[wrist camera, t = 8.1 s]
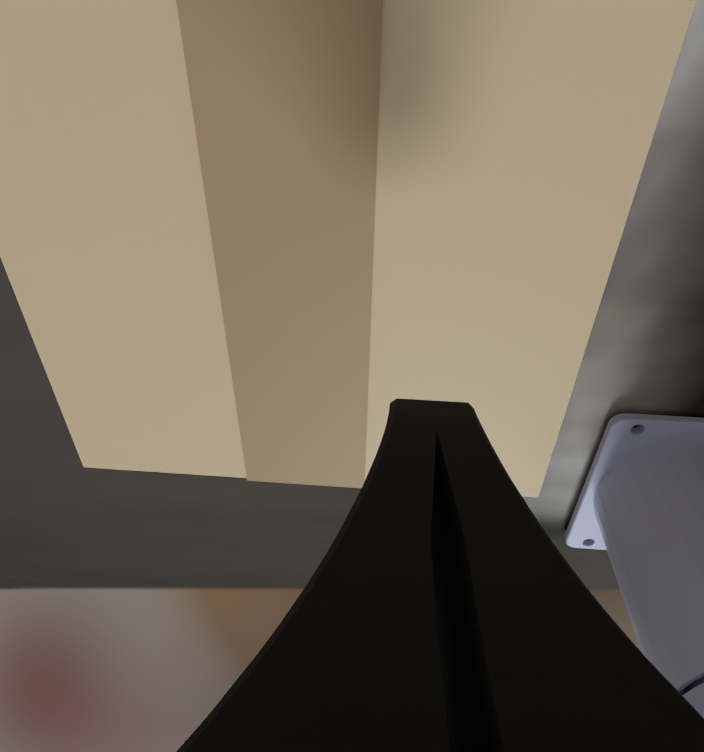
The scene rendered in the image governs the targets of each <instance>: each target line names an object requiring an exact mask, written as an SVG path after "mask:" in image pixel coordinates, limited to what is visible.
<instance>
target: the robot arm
mask: <svg viewBox="0 0 704 752" xmlns="http://www.w3.org/2000/svg"><path fill="white" fill-rule="evenodd" d="M635 425H640V426H638V427H636V428H632V427H633V426H635ZM565 541H566V543H567V545H568V546H570V547H574V548H586V549H600V550H607V552H608V555H609V558H610V561H611V564H612V567H613V570H614V573H615V576H616V579H617V582H618V584H619V587H620V590H621V593H622V596H623V599H624V602H625V605H626V608H627V611H628V614H629V617H630V620H631V623H632V626H633V629H634V632H635V635H636V638H637V641H638V644H639V647H640V650H641V651H640V650H639V649H638V648H637V647H636V646H635V645H634V644H633V643H632V641H631V640H630V639H629V638H628V637H627V635H626V634H625V633H624V632H623V631H622V630H621V628H619V626H618V625H617V624H616V623H615V622H614V620H613V619H612V618H611V617H610V616H609V615H608V613H607V612H606V611H605V610H604V609H603V607H602V606H601V605H600V604H599V602H598V601H597V600H596V599H595V597H594V596H593V595H592V594H591V593H590V591H589V590H588V589H587V588H586V586H585V585H584V584H583V583H582V581H581V580H580V579H579V577H578V576H577V575H576V574H575V572H574V571H573V570H572V568H571V567H570V566H569V564H568V563H567V562H566V560H565V559H564V558H563V556H562V555H561V554H560V552H559V551H558V549H557V548H556V546H555V545H554V544H553V542H552V541H551V539H550V538H549V537H548V535H547V534H546V532H545V531H544V529H543V528H542V527H541V525H540V524H539V522H538V521H537V519H536V518H535V516H534V515H533V513H532V512H531V510H530V509H529V507H528V505H527V504H526V502H525V501H524V499H523V497H522V496H521V494H520V493H519V491H518V489H517V488H516V486H515V485H514V483H513V481H512V480H511V478H510V477H509V475H508V473H507V471H506V470H505V468H504V466H503V465H502V463H501V461H500V459H499V458H498V456H497V454H496V452H495V450H494V448H493V447H492V445H491V443H490V441H489V439H488V437H487V435H486V433H485V431H484V429H483V427H482V425H481V423H480V421H479V419H478V417H477V415H476V412H475V410H474V408H473V407H472V406H471V405H470V404H469V403H467V402H450V401H432V400H415V399H398V398H397V399H395V400H394V401H392V402H391V403H390V406H389V415H388V419H387V424H386V427H385V431H384V434H383V437H382V440H381V443H380V446H379V448H378V451H377V454H376V456H375V459H374V461H373V463H372V466H371V468H370V470H369V473H368V475H367V477H366V480H365V482H364V484H363V486H362V489H361V491H360V493H359V495H358V497H357V499H356V501H355V503H354V504H353V506H352V508H351V510H350V512H349V514H348V516H347V518H346V520H345V522H344V524H343V525H342V527H341V529H340V531H339V533H338V535H337V536H336V538H335V540H334V542H333V543H332V545H331V547H330V549H329V550H328V552H327V554H326V555H325V557H324V559H323V560H322V562H321V563H320V565H319V567H318V568H317V570H316V571H315V573H314V574H313V576H312V578H311V579H310V581H309V582H308V584H307V585H306V587H305V588H304V590H303V591H302V593H301V594H300V596H299V597H298V599H297V600H296V601H295V603H294V605H293V606H292V607H291V609H290V610H289V612H288V613H287V614H286V616H285V617H284V619H283V620H282V622H281V623H280V625H279V626H278V627H277V629H276V630H275V631H274V633H273V634H272V636H271V637H270V638H269V640H268V641H267V642H266V644H265V645H264V646H263V648H262V649H261V650H260V652H259V653H258V654H257V655H256V657H255V658H254V659H253V661H252V662H251V663H250V664H249V665H248V667H247V668H246V669H245V670H244V672H243V673H242V674H241V675H240V677H239V678H238V679H237V680H236V682H235V683H234V684H233V685H232V687H231V688H230V689H229V690H228V692H227V693H226V694H225V695H224V697H223V698H222V699H221V700H220V702H219V703H218V704H217V705H216V707H215V708H214V709H213V710H212V712H211V713H210V714H209V715H208V717H206V719H205V720H204V721H203V722H202V723H201V725H200V726H199V727H198V728H197V729H196V731H194V733H193V734H192V735H191V736H190V737H189V738H188V739H187V740H186V741H185V743H184V744H183V745H182V746H181V747H180V748H179V749H178V750H177V752H704V418H700V417H683V416H665V415H648V414H631V413H622V414H618V415H615V416H614V417H612V418H611V419H610V421H609V422H608V424H607V427H606V430H605V432H604V435H603V437H602V440H601V443H600V445H599V448H598V450H597V453H596V455H595V458H594V461H593V463H592V466H591V468H590V471H589V473H588V476H587V479H586V481H585V484H584V486H583V489H582V491H581V494H580V497H579V499H578V502H577V504H576V507H575V509H574V512H573V515H572V517H571V520H570V522H569V525H568V527H567V530H566V533H565Z"/></svg>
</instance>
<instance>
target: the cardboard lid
mask: <svg viewBox="0 0 704 752" xmlns="http://www.w3.org/2000/svg"><path fill="white" fill-rule="evenodd" d="M696 1H697V0H0V257H1V260H2V262H3V265H4V267H5V270H6V273H7V275H8V278H9V280H10V283H11V285H12V288H13V290H14V293H15V295H16V298H17V300H18V303H19V305H20V308H21V310H22V313H23V315H24V318H25V320H26V323H27V325H28V328H29V331H30V333H31V336H32V338H33V341H34V343H35V346H36V348H37V351H38V353H39V356H40V358H41V361H42V363H43V366H44V368H45V371H46V373H47V376H48V378H49V381H50V384H51V386H52V389H53V391H54V394H55V396H56V399H57V401H58V404H59V406H60V409H61V411H62V414H63V416H64V419H65V421H66V424H67V426H68V429H69V431H70V434H71V437H72V439H73V442H74V444H75V447H76V449H77V452H78V454H79V457H80V459H81V462H82V464H83V467H89V468H104V469H119V470H134V471H149V472H164V473H179V474H194V475H209V476H224V477H239V478H247V481H262V482H277V483H292V484H307V485H322V486H337V487H352V488H362V486H363V484H364V482H365V480H366V477H367V475H368V473H369V470H370V468H371V466H372V463H373V461H374V459H375V456H376V454H377V451H378V448H379V446H380V443H381V440H382V437H383V434H384V431H385V427H386V424H387V419H388V415H389V406H390V403H391V402H392V401H394V400H395V399H397V398H398V399H415V400H432V401H450V402H467V403H469V404H470V405H471V406H472V407H473V408H474V410H475V412H476V415H477V417H478V419H479V421H480V423H481V425H482V427H483V429H484V431H485V433H486V435H487V437H488V439H489V441H490V443H491V445H492V447H493V448H494V450H495V452H496V454H497V456H498V458H499V459H500V461H501V463H502V465H503V466H504V468H505V470H506V471H507V473H508V475H509V477H510V478H511V480H512V481H513V483H514V485H515V486H516V488H517V489H518V491H519V493H520V494H521V496H525V497H539V494H540V490H541V487H542V484H543V481H544V478H545V475H546V472H547V468H548V465H549V462H550V459H551V456H552V453H553V450H554V446H555V443H556V440H557V437H558V434H559V431H560V428H561V424H562V421H563V418H564V415H565V412H566V409H567V406H568V403H569V399H570V396H571V393H572V390H573V387H574V384H575V381H576V377H577V374H578V371H579V368H580V365H581V362H582V359H583V355H584V352H585V349H586V346H587V343H588V340H589V337H590V333H591V330H592V327H593V324H594V321H595V318H596V315H597V312H598V308H599V305H600V302H601V299H602V296H603V293H604V290H605V286H606V283H607V280H608V277H609V274H610V271H611V268H612V264H613V261H614V258H615V255H616V252H617V249H618V246H619V242H620V239H621V236H622V233H623V230H624V227H625V224H626V221H627V217H628V214H629V211H630V208H631V205H632V202H633V199H634V195H635V192H636V189H637V186H638V183H639V180H640V177H641V173H642V170H643V167H644V164H645V161H646V158H647V155H648V151H649V148H650V145H651V142H652V139H653V136H654V133H655V130H656V126H657V123H658V120H659V117H660V114H661V111H662V108H663V104H664V101H665V98H666V95H667V92H668V89H669V86H670V82H671V79H672V76H673V73H674V70H675V67H676V64H677V60H678V57H679V54H680V51H681V48H682V45H683V42H684V39H685V35H686V32H687V29H688V26H689V23H690V20H691V17H692V13H693V10H694V7H695V4H696Z"/></svg>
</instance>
